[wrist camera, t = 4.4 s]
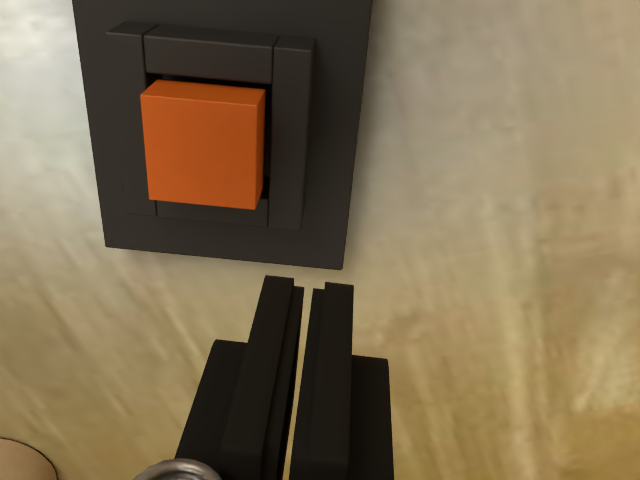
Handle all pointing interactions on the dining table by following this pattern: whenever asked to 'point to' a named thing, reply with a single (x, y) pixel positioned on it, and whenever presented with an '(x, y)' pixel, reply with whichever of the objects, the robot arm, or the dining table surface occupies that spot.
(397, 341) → the dining table surface
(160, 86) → the enter key
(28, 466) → the candle
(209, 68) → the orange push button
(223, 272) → the dining table surface
